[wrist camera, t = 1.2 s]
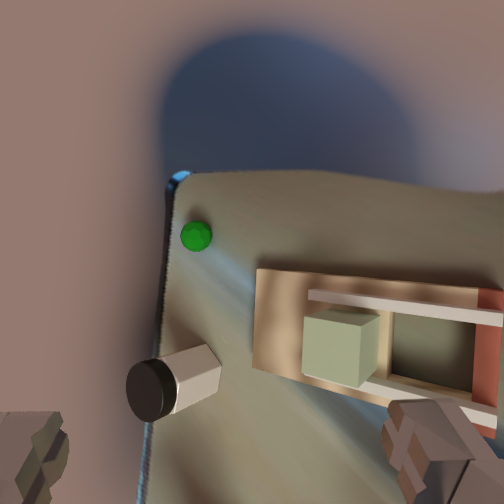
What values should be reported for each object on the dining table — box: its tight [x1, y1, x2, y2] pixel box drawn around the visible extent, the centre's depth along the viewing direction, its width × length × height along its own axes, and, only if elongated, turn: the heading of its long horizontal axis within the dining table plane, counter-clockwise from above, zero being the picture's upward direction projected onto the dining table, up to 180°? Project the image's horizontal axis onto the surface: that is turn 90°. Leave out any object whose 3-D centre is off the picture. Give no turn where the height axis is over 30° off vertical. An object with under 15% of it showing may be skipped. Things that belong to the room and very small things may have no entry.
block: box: [301, 308, 380, 388], centre depth 37 cm, size 6×6×7 cm
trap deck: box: [252, 268, 504, 439], centre depth 41 cm, size 28×14×2 cm, turn 86°
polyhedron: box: [180, 221, 212, 252], centre depth 55 cm, size 5×5×5 cm
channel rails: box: [304, 289, 503, 429], centre depth 37 cm, size 19×10×2 cm, turn 86°
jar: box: [126, 344, 222, 423], centre depth 52 cm, size 9×8×12 cm
